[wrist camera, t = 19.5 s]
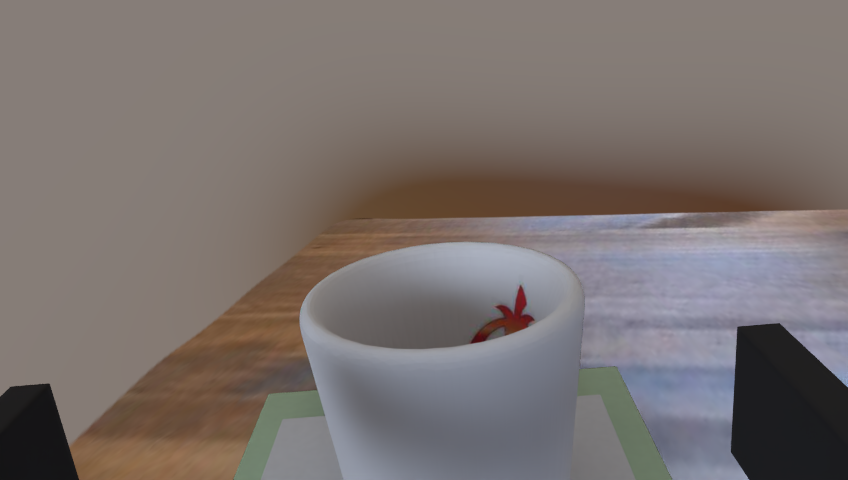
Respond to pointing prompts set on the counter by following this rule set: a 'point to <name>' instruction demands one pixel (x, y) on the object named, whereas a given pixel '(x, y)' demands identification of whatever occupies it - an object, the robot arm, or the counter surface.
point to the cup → (448, 362)
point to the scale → (591, 456)
